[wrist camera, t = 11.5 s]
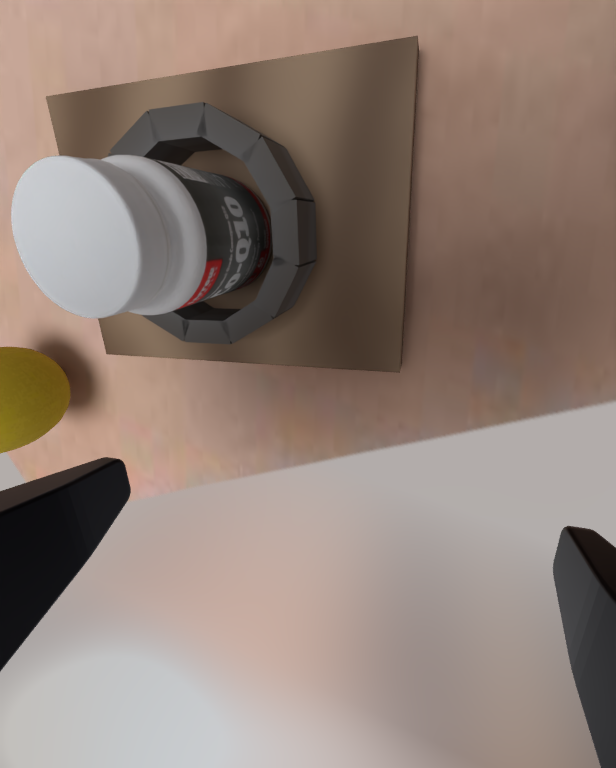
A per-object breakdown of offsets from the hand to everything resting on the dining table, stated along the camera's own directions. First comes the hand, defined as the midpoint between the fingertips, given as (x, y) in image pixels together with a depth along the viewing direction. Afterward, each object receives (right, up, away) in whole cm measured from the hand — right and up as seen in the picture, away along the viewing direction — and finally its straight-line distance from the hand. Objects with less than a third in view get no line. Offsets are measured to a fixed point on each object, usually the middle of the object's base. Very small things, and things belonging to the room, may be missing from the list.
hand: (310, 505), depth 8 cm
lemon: (-16, +3, +17) cm, 24 cm away
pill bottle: (-4, +9, +10) cm, 14 cm away
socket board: (-3, +10, +11) cm, 15 cm away
